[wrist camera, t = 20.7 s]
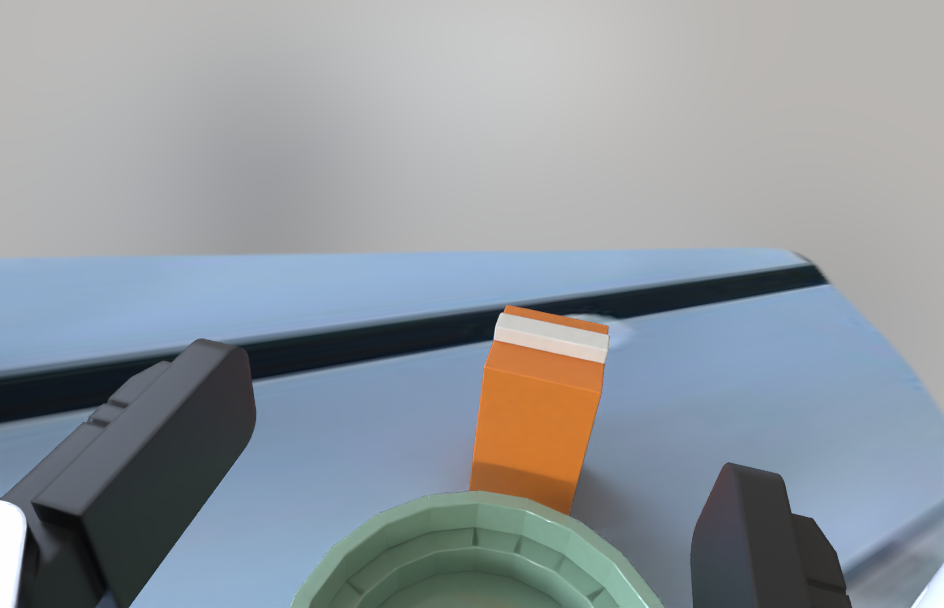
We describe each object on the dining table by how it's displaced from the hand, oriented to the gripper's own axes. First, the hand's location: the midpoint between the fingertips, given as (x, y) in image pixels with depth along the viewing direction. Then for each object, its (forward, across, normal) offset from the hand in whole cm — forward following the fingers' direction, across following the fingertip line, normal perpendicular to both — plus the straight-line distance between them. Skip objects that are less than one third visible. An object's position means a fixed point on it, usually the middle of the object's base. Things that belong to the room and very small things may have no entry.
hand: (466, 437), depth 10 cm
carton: (+15, -1, +18) cm, 24 cm away
